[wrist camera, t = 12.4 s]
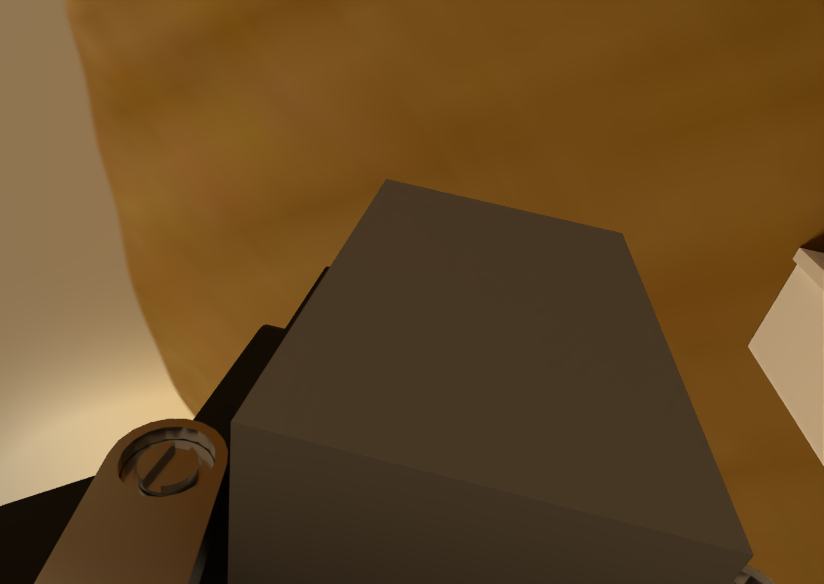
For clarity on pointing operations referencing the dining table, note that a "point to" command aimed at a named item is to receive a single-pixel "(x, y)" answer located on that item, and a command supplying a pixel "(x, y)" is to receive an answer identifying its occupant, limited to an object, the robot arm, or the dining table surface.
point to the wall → (797, 346)
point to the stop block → (476, 416)
